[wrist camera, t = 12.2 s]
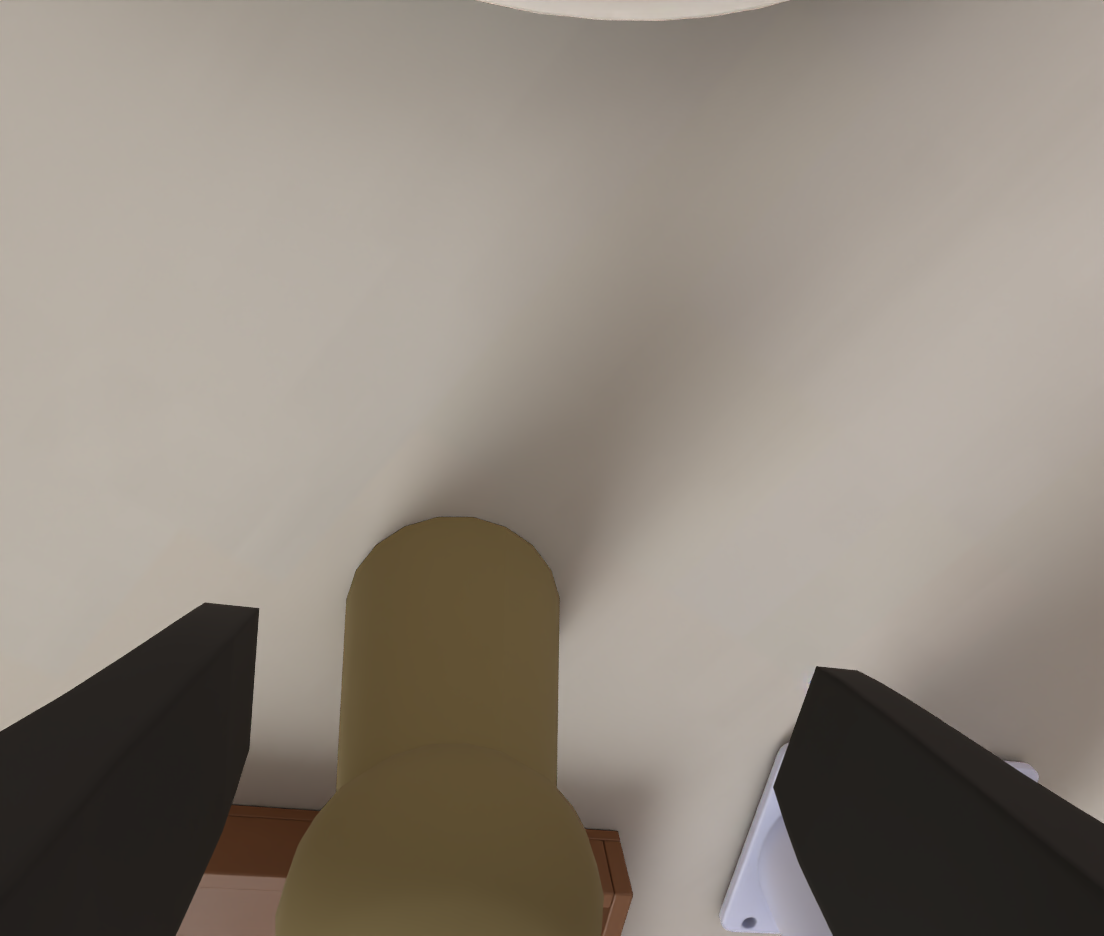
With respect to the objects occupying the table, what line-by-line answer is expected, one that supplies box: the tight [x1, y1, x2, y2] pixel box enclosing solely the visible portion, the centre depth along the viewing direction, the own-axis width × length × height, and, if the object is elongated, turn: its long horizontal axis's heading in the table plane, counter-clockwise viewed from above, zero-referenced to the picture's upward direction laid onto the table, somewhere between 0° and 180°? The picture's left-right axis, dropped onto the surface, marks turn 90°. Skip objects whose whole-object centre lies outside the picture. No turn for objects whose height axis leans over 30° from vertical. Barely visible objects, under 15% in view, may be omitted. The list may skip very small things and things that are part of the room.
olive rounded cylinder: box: [275, 517, 604, 936], centre depth 15 cm, size 6×6×11 cm
